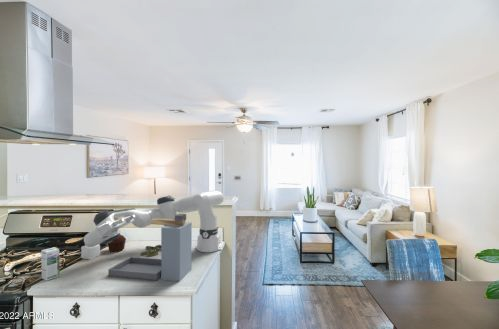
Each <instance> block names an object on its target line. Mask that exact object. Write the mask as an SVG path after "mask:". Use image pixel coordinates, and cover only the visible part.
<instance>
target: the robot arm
mask: <svg viewBox="0 0 499 329" xmlns="http://www.w3.org/2000/svg"><path fill="white" fill-rule="evenodd" d="M223 202H224V194H223V193H222V192H221V191H219V190H207V191H201V192H198V193H195V194H193V195H189V196H185V197H182V198H179V199H177V200H176V198H175V197H173V196H172V195H169V194H167V195H165V194H164V195H162V196H160V197H158V198H157V200H156V204H157V207H158V208H157V207H152V208H146V209H143V210H138V209H136V208H123V209H115V210H103V211H100V212H98V213H96V214H95V216H94V217H93V220H92V221H93V223H94V224H95V225H94V226H96V227H95V228H93V229H92V230H90V231H89V232H87V234H85V235H84V236H83V242H84V245H85V244H86V246H88V247H94V246H96V245H99V244H100V245H101V244H104V245H108V243H110V242H112V241H114V240H115V239H117V238H118V237H119V236H120V235H121V232H120V231H121V230H120V229H121V228H123V227H126V226H128V225H130V224H132V225H133V226H134V227H136V228H139V229H143V228H146V227H149V226H151V225H152V224H151V219H154V218H158V219H175V215H177V214H187V213H191V212H198V214H199V223H200V224H199V226H200V227H199V231H198V232H199V235H197V240H196V241H197V242H196V243H197V244H196V246H195V247H194V248H195V249H196V250H197V251H199V252H202V253H214V252H218V251H222V250H223V247H224V244H225V242H224V241H223V240H221V235H220V234H219V232H218V231H219V226H218V225H217V224H218V218H217V214H215V213H214V211H213V208H215V207H217V206H219V205H221V204H222V203H223ZM117 218H120V219H117ZM164 226H166V225H163V227H164Z"/></svg>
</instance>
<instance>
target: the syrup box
mask: <svg viewBox="0 0 499 329" xmlns="http://www.w3.org/2000/svg"><path fill="white" fill-rule="evenodd" d="M40 252H41V253H40V254H41V256H40V257H41V258H40V260H41V279H42V280H45V282H47V281H50V280H53V279H56V278H60V275H61V273H60V248H58V247H56V246H55V247H51V248H46V249H41V251H40Z"/></svg>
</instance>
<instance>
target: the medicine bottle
mask: <svg viewBox="0 0 499 329" xmlns="http://www.w3.org/2000/svg"><path fill="white" fill-rule="evenodd" d="M80 249H81V252H80V253H81V254H80V255H81V257H80V258H81V259H86V260H92V259H95V258H98V257H100V256H101V244H99V245H96V246H94V247H88V246H86V244H85V243H84V245H82V246H81V248H80Z"/></svg>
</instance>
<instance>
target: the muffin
mask: <svg viewBox="0 0 499 329" xmlns="http://www.w3.org/2000/svg"><path fill="white" fill-rule="evenodd" d="M126 241H127V238H126V237H125V235H123V234H120V236H119V237H118V238H117V239H115V240H114V241H112V242H110V243H108V244H107V247H108V251H109V252H110V253H118V252H122V251H124V250H125V247H126ZM123 249H124V250H123Z"/></svg>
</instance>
